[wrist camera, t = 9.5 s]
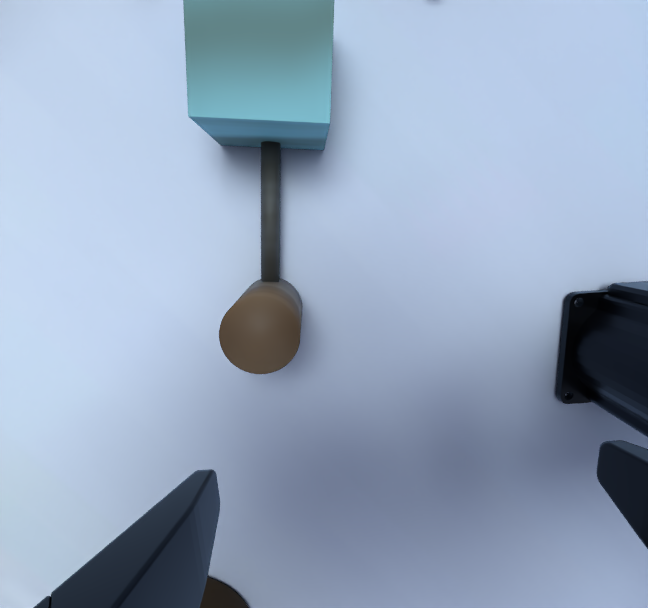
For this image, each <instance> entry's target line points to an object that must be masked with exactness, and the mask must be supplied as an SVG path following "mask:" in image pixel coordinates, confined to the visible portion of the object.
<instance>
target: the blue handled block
mask: <svg viewBox="0 0 648 608" xmlns="http://www.w3.org/2000/svg"><path fill="white" fill-rule="evenodd" d="M183 3H184V26H185V50H186V74H187V97H188V116H189V117H190V118H191V119H192V120H193V121H194V122H195V123H196V124H198V125H199V126H200V127H201V128H202V129H203V130H204V131H205V132H207V133H208V134H209V135H210V136H211V137H212V138H213V139H215V140H216V141H217V142H218V143H219V144H220V145H225V146H247V147H261V279H260V280H258V281H256V282H255V283H253V284H252V285H251V286H250V287H249V288H248V289H247V290H246V291H245V292H244V294H243V295H242V296H241V297H240V298H239V299H238V300H237V301H236V303H235V304H234V305H233V306H232V307H231V308H230V309H229V310H228V311H227V313H226V314H225V316H224V317H223V319H222V322H221V325H220V330H219V340H220V345H221V348H222V350H223V352H224V354H225V356H226V357H227V358H228V359H229V361H230V362H231V363H233V364H234V365H235V366H236V367H238V368H240V369H242V370H244V371H246V372H249V373H254V374H267V373H272V372H275V371H277V370H280V369H281V368H283V367H284V366H286V365H287V364H288V363H289V362H290V361H291V360H292V359H293V357H294V356H295V354H296V352H297V350H298V347H299V343H300V330H301V315H302V302H301V298H300V295H299V293H298V292H297V290H296V289H295V288H294V287H293V286H292V285H291V284H290V283H288V282H287V281H285V280H283V279H280V278H279V274H280V157H281V148H290V149H312V150H324V147H325V143H326V138H327V134H328V130H329V125H330V107H331V78H332V50H333V22H334V0H183Z"/></svg>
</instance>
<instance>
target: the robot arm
mask: <svg viewBox="0 0 648 608" xmlns="http://www.w3.org/2000/svg"><path fill="white" fill-rule="evenodd" d="M577 298H578V303H577V304H576V305H575V304H574V302H575V300H576V299H577ZM567 392H569V393H568V395H567V396H565V394H566V393H567ZM556 397H557V398H558V399H559V400H560V401H562V402H563V403H565V404H573V403H587V402H593V403H595V404H596V405H598V406H599V407H601V408H603V409H604V410H606V411H607V412H609V413H610V414H612V415H614V416H615V417H617V418H618V419H620V420H621V421H623V422H625V423H626V424H628V425H629V426H631V427H632V428H634V429H636V430H637V431H639V432H640V433H642V434H643V435H645V436H647V437H648V281H645V282H629V283H614V284H612V285H610V286H609V287H608V290H597V291H581V292H572V293H570V294H569V295H568V296H567V297H566V299H565V305H564V315H563V325H562V336H561V346H560V356H559V366H558V377H557V387H556ZM597 477H598V480H599V482H600V484H601V485H602V487H603V488H604V489H605V491H606V492H607V494H608V495H609V496H610V498H611V499H612V501H613V502H614V503H615V505H616V506H617V507H618V509H619V510H620V512H621V513H622V514H623V516H624V517H625V519H626V520H627V521H628V523H629V524H630V525H631V527H632V528H633V530H634V531H635V532H636V534H637V535H638V537H639V538H640V539H641V541H642V542H643V543H644V545H645V546H646V547H647V549H648V449H645V448H642V447H639V446H637V445H634V444H631V443H628V442H625V441H620V440H618V441H606V442H603V443H602V444H601V446H600V450H599V457H598V465H597ZM219 511H220V497H219V490H218V483H217V476H216V472H215V471H214V470H212V469H211V470H198V471H196V472H194V473H193V474H192V475H191V476H189V477H188V478H187V479H186V480H185V481H183V482H182V483H181V484H180V485H179V486H177V487H176V488H175V489H174V490H173V491H172V492H170V493H169V494H168V495H167V496H166V497H164V498H163V499H162V500H161V501H160V502H158V503H157V504H156V505H155V506H154V507H153V508H151V509H150V510H149V511H148V512H147V513H145V514H144V515H143V516H142V517H141V518H140V519H138V520H137V521H136V522H135V523H134V524H132V525H131V526H130V527H129V528H128V529H126V530H125V531H124V532H123V533H122V534H121V535H119V536H118V537H117V538H116V539H115V540H113V541H112V542H111V543H110V544H109V545H107V546H106V547H105V548H104V549H103V550H102V551H100V552H99V553H98V554H97V555H96V556H94V557H93V558H92V559H91V560H90V561H89V562H87V563H86V564H85V565H84V566H83V567H81V568H80V569H79V570H78V571H77V572H75V573H74V574H73V575H72V576H71V577H70V578H68V579H67V580H66V581H65V582H64V583H62V584H61V585H60V586H59V587H58V588H56V589H55V590H54V591H53V592H52V594H51V597H50V596H47V597H46V598H44V599H43V600H42V601H41V602H40V603H38V604H37V605H36V606H35V607H34V608H199V607H200V604H201V600H202V597H203V593H204V589H205V585H206V581H207V576H208V571H209V565H210V560H211V554H212V549H213V544H214V538H215V533H216V527H217V522H218V517H219Z"/></svg>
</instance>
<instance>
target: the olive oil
mask: <svg viewBox="0 0 648 608" xmlns="http://www.w3.org/2000/svg"><path fill="white" fill-rule="evenodd" d="M199 608H248V606H247V605H246V603H245V602H244V600H243V599H242V598H241V597H240V596H239V595H238V594H237V593H236V592H235V591H234V590H232V589H231V588H229V587H228V586H226V585H225V584H223V583H221V582H219V581H217V580H214V579H212V578H209V577H207V581H206V585H205V589H204V593H203V597H202V600H201V604H200V607H199Z"/></svg>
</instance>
